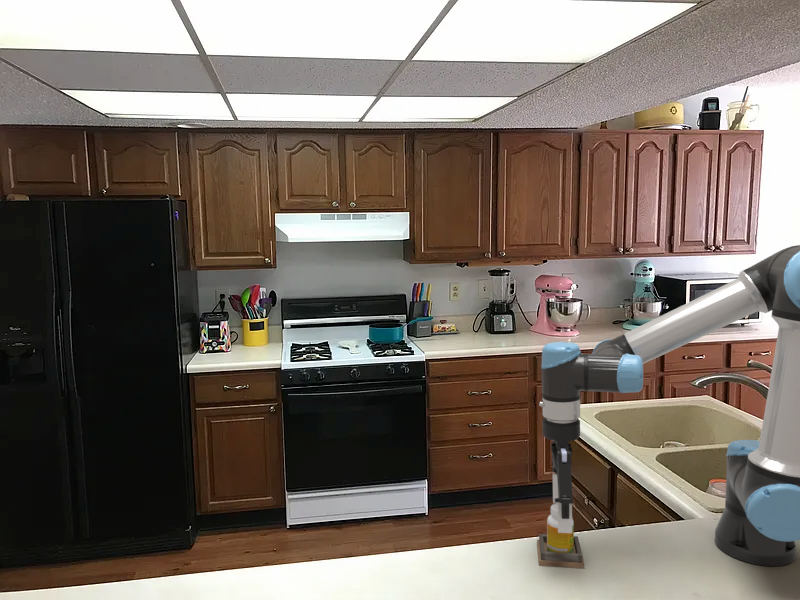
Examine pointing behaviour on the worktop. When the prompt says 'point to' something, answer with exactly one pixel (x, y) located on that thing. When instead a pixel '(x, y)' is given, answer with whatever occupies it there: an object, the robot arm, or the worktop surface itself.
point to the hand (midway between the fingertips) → (562, 516)
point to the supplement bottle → (558, 534)
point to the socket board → (559, 555)
